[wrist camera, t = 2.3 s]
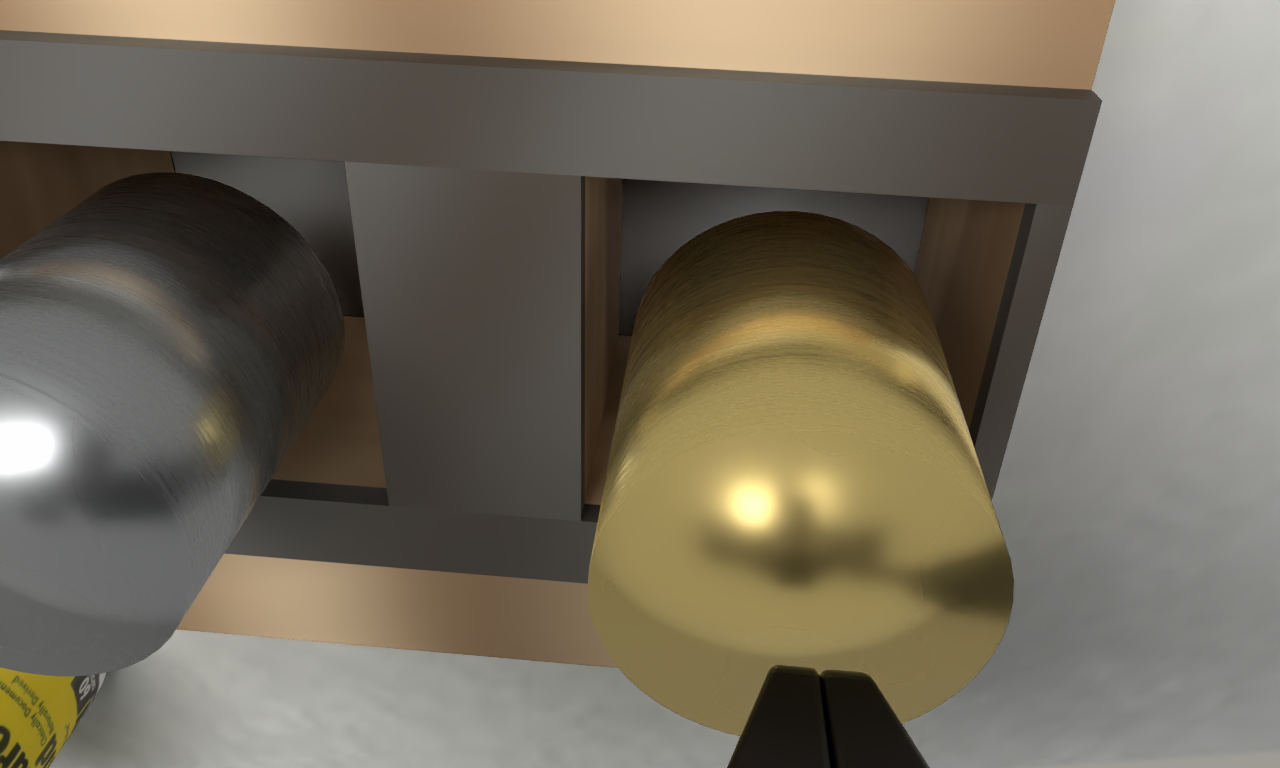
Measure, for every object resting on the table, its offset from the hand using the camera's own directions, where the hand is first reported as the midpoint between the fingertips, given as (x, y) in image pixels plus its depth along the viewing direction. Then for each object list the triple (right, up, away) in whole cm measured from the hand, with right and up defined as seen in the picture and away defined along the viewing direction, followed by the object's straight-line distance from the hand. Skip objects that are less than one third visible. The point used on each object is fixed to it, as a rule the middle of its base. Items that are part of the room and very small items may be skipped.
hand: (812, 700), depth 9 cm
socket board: (-3, +6, +9) cm, 11 cm away
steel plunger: (-7, +4, +6) cm, 10 cm away
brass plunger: (0, +4, +6) cm, 7 cm away
